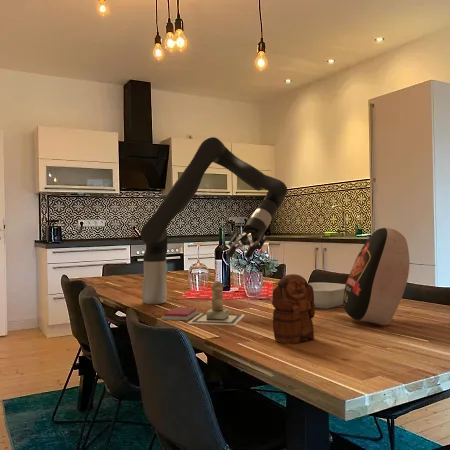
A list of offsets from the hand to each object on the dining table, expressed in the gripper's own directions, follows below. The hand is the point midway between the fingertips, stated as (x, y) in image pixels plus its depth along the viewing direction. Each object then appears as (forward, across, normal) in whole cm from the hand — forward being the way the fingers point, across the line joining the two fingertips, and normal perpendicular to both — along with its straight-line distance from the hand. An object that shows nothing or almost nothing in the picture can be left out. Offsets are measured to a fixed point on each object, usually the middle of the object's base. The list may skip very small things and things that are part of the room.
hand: (237, 256), depth 163 cm
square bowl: (-9, +12, +39) cm, 42 cm away
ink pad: (+26, -13, +4) cm, 29 cm away
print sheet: (+22, 0, +7) cm, 23 cm away
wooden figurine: (+27, +36, +3) cm, 45 cm away
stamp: (+22, 0, +7) cm, 23 cm away
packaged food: (+2, +42, +27) cm, 50 cm away
